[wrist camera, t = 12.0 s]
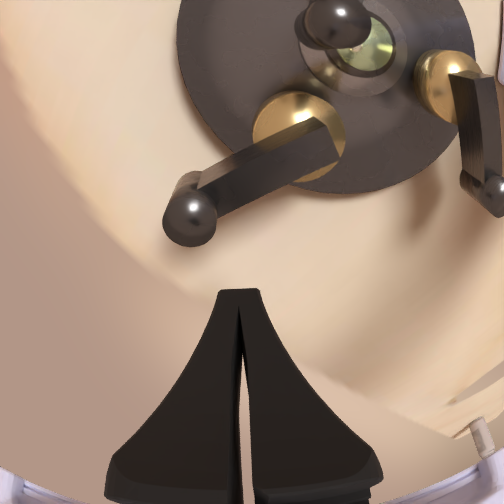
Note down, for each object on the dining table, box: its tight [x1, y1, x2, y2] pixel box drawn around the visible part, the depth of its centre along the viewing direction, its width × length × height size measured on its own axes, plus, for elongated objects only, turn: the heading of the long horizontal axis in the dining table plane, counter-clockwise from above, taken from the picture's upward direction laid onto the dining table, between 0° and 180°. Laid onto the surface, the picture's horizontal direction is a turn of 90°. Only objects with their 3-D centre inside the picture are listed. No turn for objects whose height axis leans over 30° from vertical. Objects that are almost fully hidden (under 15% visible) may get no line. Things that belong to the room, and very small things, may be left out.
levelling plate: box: [176, 0, 476, 194], centre depth 12 cm, size 18×18×3 cm
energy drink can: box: [469, 417, 495, 459], centre depth 59 cm, size 6×6×15 cm
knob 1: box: [162, 90, 346, 247], centre depth 13 cm, size 9×4×5 cm, turn 118°
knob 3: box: [412, 49, 504, 218], centre depth 12 cm, size 9×4×5 cm, turn 24°
